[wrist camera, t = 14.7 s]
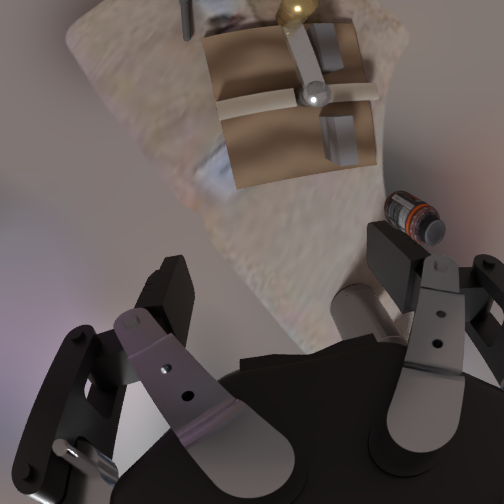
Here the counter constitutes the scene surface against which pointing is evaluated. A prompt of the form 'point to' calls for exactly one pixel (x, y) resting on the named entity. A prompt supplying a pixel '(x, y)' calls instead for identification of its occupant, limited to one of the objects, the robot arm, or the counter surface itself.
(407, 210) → the supplement bottle
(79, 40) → the counter surface
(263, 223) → the counter surface
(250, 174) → the lock base
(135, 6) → the counter surface
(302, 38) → the swing bar
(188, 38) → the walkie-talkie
